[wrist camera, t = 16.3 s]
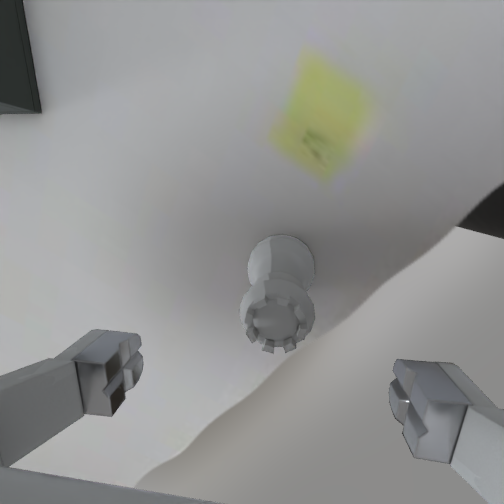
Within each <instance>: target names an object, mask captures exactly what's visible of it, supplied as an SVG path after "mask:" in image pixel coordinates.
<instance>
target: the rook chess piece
mask: <svg viewBox="0 0 504 504" xmlns="http://www.w3.org/2000/svg"><path fill="white" fill-rule="evenodd" d="M247 270H248V275H249V281H250V283H251V285H252V287H250V289H249V290H248V291H247V292H246V294H245V295H244V296H243V297H242V301H241V305H240V309H239V313H240V318H241V324H242V325H243V327H244V328H245V330H246V331H247V332H246V335H247V336H248V338H249V339H250V341H251V342H252V343H253V342H255V341H256V340H257V341H258V342H260V343H262V344H263V346H262V350H263V351H266V352H270V353H274V347H283V348H284V350H285V353H287V352H289V351H291V350H294V349H296V343H297V342H300V341H302V340H304V339H305V336H306V335H307V334H308V333H309V332H310V331H311V329H312V326H313V323H314V320H315V312H314V304H313V303H312V301H311V299H310V298H309V296H308V294H307V293H306V291H307V290H308V289H309V288H310V286H311V284H312V281H313V278H314V275H315V268H314V258H313V255H312V254H311V252H310V250H309V249H308V247H307V245H305V244H304V243H303V242H301V241H300V240H299V239H297V238H295V237H292V236H288V235H284V234H282V235H274V236H269V237H267V238H266V239H264V240H262V241H260V242H259V243H258V244H257V245H256V247H255V248H254V249H253V251H252V252H251V255H250V259H249V263H248V268H247Z"/></svg>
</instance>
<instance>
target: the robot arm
mask: <svg viewBox="0 0 504 504" xmlns="http://www.w3.org/2000/svg"><path fill="white" fill-rule="evenodd" d="M141 345H142V344H141V338H140V336H139V335H138V334H136V333H128V332H119V331H111V330H110V331H109V330H101V329H95V330H91V331H90V332H88V333H87V334H86V335H84V336H83V337H82V338H80V339H79V340H78V341H76V342H75V343H74V344H72V345H71V346H70V347H68V348H67V349H66V350H64V351H63V352H62V353H60V354H59V355H58V356H56V357H55V358H54V359H51V358H48V359H45V360H43V361H40V362H37V363H35V364H32V365H29V366H26V367H24V368H21V369H18V370H15V371H13V372H10V373H7V374H5V375H2V376H0V504H224V503H218V502H212V501H205V500H200V499H194V498H188V497H182V496H176V495H170V494H164V493H158V492H153V491H147V490H141V489H135V488H129V487H123V486H117V485H111V484H105V483H99V482H93V481H87V480H81V479H75V478H70V477H64V476H58V475H52V474H46V473H40V472H34V471H28V470H22V469H16V468H10V467H9V466H11V465H12V464H13V463H15V462H16V461H18V460H19V459H21V458H22V457H24V456H25V455H27V454H28V453H30V452H31V451H33V450H34V449H36V448H37V447H39V446H40V445H42V444H43V443H44V442H46V441H47V440H49V439H50V438H52V437H53V436H55V435H56V434H58V433H59V432H61V431H62V430H64V429H65V428H67V427H68V426H70V425H71V424H73V423H74V422H76V421H77V420H78V419H80V418H81V417H83V416H84V414H90V415H99V416H109V417H112V416H113V414H114V413H115V412H116V410H117V409H118V408H119V406H120V405H121V404H122V402H123V401H124V400H125V392H126V391H128V390H130V389H131V388H133V387H134V386H135V385H136V383H137V382H138V381H139V378H140V376H141V373H142V370H143V356H142V355H141V354H140V353H139V351H138V350H139V348H140V347H141ZM393 372H394V374H395V375H396V377H397V378H396V379H395V380H393V381H392V382H391V383H390V388H389V402H390V406H391V409H392V412H393V415H394V417H395V419H396V420H397V421H399V422H400V423H401V424H402V425H403V426H404V428H403V433H402V434H403V436H404V438H405V440H406V442H407V444H408V446H409V449H410V451H411V453H412V455H413V457H414V458H417V459H423V460H429V461H435V462H441V463H447V464H451V465H450V466H451V467H452V468H453V469H454V470H455V471H456V472H457V473H458V474H459V475H460V476H461V477H463V479H464V480H465V481H466V482H467V483H468V484H469V485H470V486H471V487H472V488H473V489H474V490H475V491H476V492H477V493H478V494H479V495H480V496H481V497H483V498H484V500H486V502H487V503H489V504H504V409H498V408H497V407H496V406H495V405H494V404H493V402H492V401H491V400H490V399H489V398H488V397H487V396H486V395H485V394H484V393H483V392H482V391H481V390H480V389H479V388H478V387H477V386H476V385H475V384H474V383H473V381H472V380H471V379H470V378H469V377H468V376H467V375H466V374H465V373H464V372H463V371H462V370H461V369H460V368H459V367H458V366H457V365H455V364H453V363H446V362H426V361H413V360H402V359H397V360H396V361H395V363H394V367H393Z"/></svg>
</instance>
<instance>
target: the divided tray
mask: <svg viewBox="0 0 504 504" xmlns="http://www.w3.org/2000/svg"><path fill="white" fill-rule="evenodd" d="M34 113H41V108H40V102H39V97H38V91H37V85H36V80H35V74H34V68H33V62H32V57H31V51H30V45H29V40H28V34H27V28H26V22H25V17H24V11H23V5H22V0H0V114H34Z"/></svg>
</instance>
